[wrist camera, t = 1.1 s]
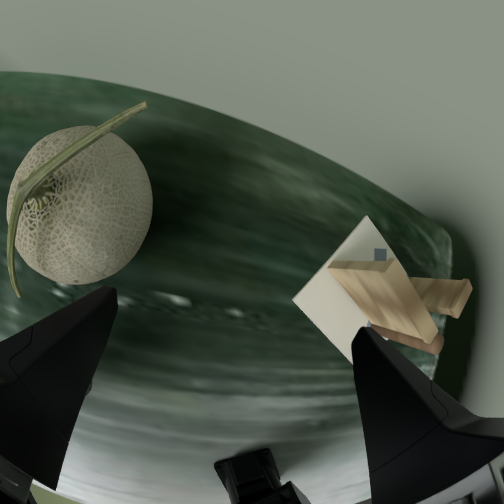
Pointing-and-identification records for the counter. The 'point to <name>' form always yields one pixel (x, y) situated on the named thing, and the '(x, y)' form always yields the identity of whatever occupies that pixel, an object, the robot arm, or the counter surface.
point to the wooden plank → (433, 308)
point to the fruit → (79, 204)
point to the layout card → (333, 294)
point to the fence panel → (385, 296)
